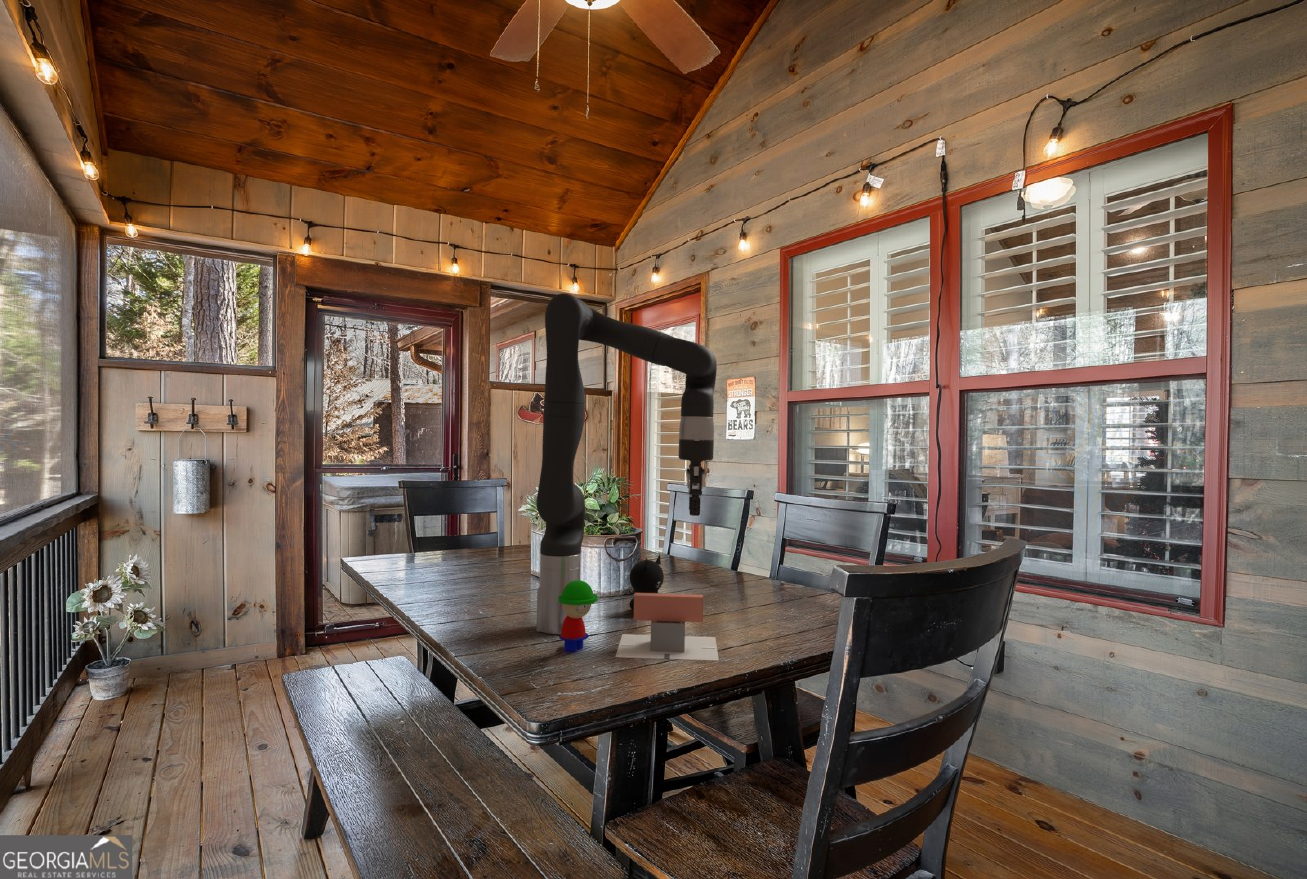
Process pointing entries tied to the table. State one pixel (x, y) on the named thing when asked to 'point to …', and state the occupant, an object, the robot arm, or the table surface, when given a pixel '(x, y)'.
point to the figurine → (646, 577)
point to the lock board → (693, 651)
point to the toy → (575, 613)
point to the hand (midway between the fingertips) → (694, 513)
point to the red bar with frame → (668, 617)
